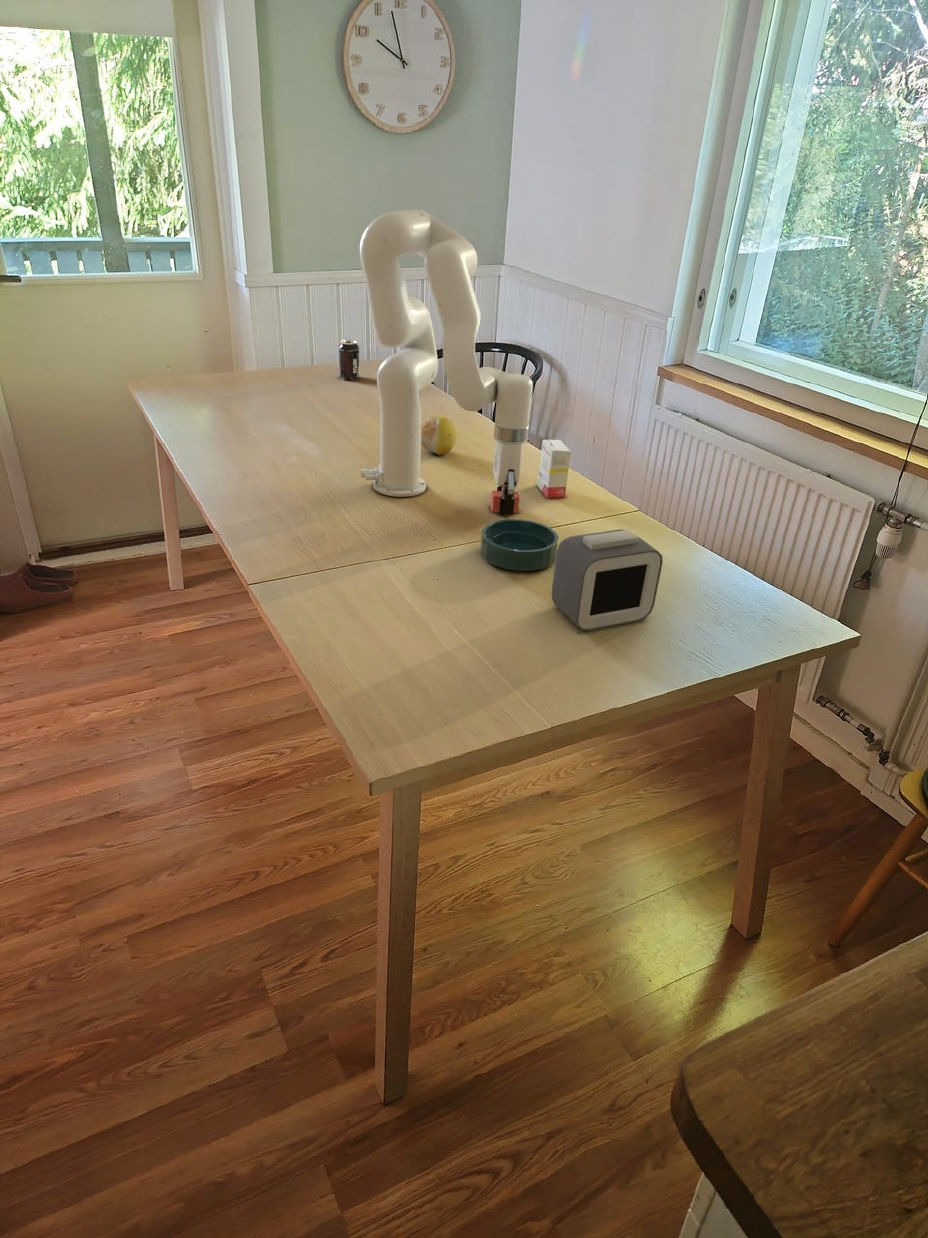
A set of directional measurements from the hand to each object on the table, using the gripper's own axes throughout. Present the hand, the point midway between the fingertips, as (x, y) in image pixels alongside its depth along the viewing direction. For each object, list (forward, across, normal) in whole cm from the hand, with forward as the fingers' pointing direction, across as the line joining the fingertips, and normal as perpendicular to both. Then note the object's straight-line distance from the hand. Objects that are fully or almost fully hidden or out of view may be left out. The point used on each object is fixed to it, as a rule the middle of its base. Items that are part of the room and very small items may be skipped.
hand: (504, 507), depth 193 cm
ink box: (+1, -12, +13) cm, 18 cm away
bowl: (+1, +24, 0) cm, 24 cm away
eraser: (+1, 0, 0) cm, 1 cm away
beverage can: (+1, -108, -40) cm, 115 cm away
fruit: (+1, -37, -14) cm, 40 cm away
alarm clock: (+1, +46, +12) cm, 48 cm away
